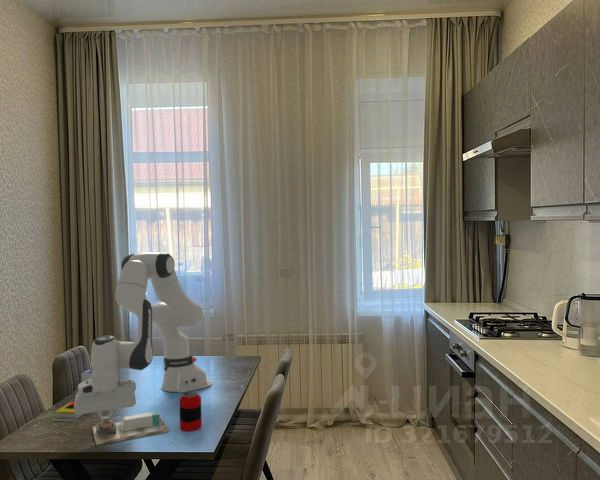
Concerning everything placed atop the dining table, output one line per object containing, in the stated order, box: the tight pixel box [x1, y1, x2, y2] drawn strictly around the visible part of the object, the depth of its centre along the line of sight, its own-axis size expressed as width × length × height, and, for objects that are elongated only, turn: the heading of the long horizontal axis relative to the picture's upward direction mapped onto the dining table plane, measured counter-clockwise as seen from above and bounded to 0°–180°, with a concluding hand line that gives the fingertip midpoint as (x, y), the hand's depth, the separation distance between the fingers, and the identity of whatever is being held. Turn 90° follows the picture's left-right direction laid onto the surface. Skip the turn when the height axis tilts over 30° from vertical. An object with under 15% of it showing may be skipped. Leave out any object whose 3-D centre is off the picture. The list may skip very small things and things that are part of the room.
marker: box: [122, 411, 160, 430], centre depth 185 cm, size 4×12×4 cm, turn 117°
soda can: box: [179, 391, 202, 432], centre depth 185 cm, size 8×8×12 cm
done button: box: [99, 420, 112, 429], centre depth 179 cm, size 4×4×3 cm
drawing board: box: [91, 414, 170, 446], centre depth 183 cm, size 24×16×3 cm, turn 117°
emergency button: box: [52, 401, 85, 422], centre depth 201 cm, size 9×4×15 cm
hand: (105, 422), depth 179 cm, fingers closed, pressing on done button
